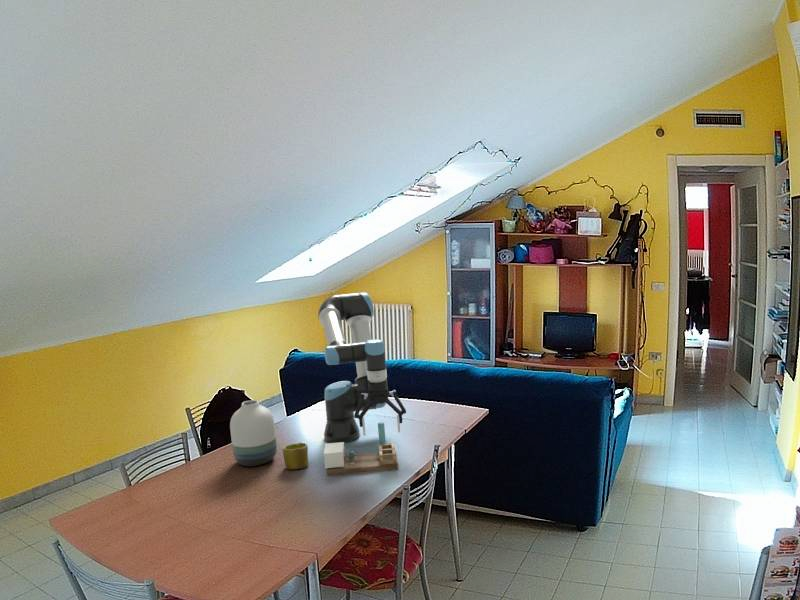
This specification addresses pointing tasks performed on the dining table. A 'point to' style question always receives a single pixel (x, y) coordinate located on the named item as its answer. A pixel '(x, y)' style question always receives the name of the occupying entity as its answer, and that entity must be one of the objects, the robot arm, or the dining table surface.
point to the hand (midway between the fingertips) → (381, 432)
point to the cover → (334, 455)
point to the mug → (295, 456)
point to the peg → (381, 433)
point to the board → (368, 462)
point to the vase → (253, 434)
